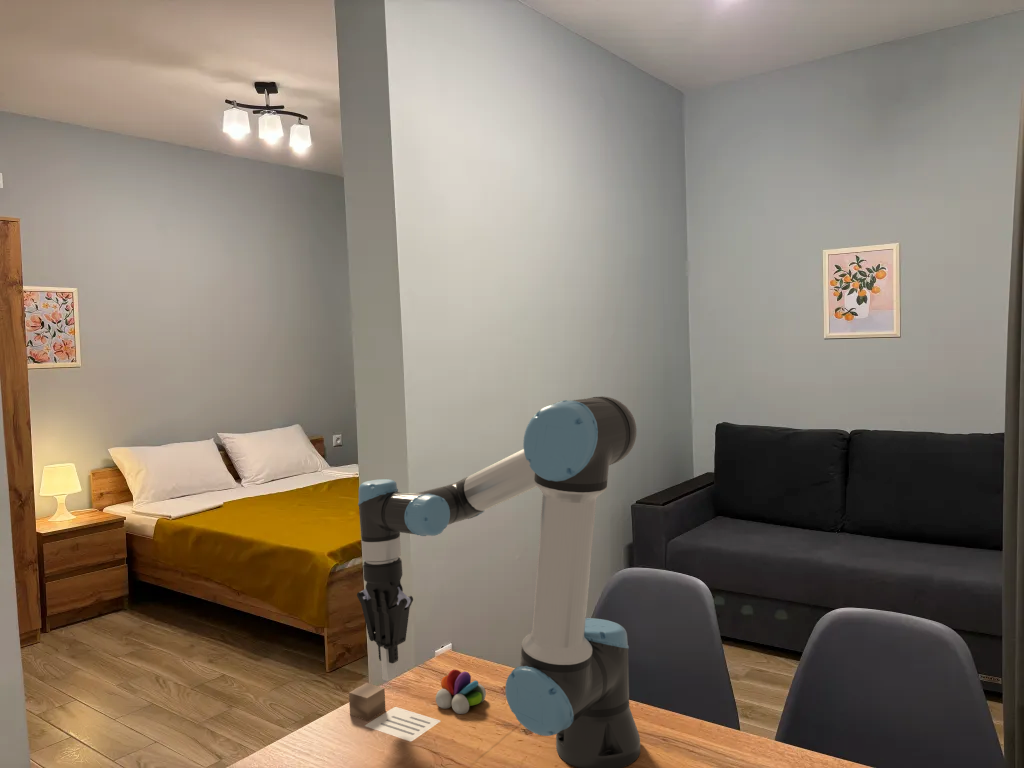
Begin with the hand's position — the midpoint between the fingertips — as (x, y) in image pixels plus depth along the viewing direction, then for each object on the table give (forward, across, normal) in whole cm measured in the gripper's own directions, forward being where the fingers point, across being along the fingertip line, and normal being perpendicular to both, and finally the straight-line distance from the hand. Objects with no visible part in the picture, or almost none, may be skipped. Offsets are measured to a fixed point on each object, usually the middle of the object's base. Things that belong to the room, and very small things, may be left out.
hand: (389, 677), depth 149 cm
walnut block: (+9, +7, 0) cm, 11 cm away
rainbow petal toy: (+9, -8, -12) cm, 17 cm away
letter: (+9, -3, 0) cm, 9 cm away
